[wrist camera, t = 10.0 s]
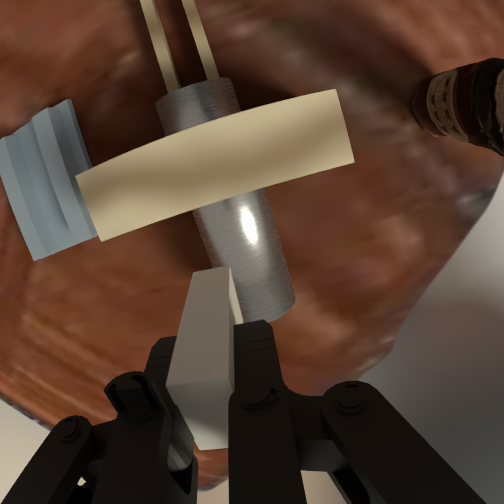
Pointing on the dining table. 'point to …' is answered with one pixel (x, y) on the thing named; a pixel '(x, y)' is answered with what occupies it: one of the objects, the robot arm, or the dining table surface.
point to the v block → (47, 180)
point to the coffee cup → (465, 104)
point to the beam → (212, 150)
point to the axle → (234, 212)
